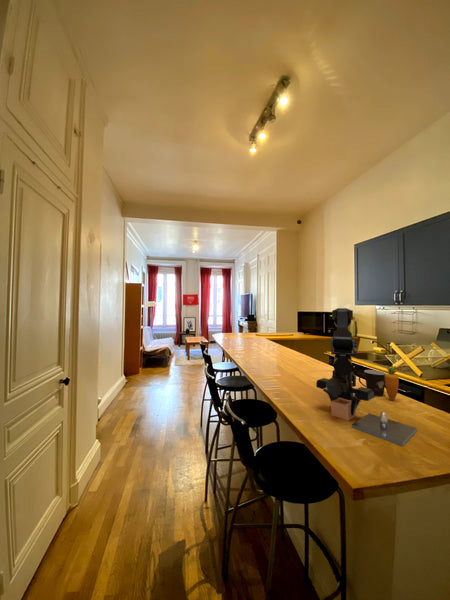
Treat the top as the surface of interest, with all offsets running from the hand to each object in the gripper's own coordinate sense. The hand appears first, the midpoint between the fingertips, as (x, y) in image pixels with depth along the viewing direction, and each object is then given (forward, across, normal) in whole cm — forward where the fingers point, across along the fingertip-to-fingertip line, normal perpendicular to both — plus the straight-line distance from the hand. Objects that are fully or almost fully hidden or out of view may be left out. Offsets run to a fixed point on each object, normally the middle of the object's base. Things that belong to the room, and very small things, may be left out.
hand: (343, 412), depth 89 cm
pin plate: (+1, +13, 0) cm, 13 cm away
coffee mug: (+1, -3, +34) cm, 34 cm away
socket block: (+1, 0, 0) cm, 1 cm away
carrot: (+1, +6, +31) cm, 32 cm away
